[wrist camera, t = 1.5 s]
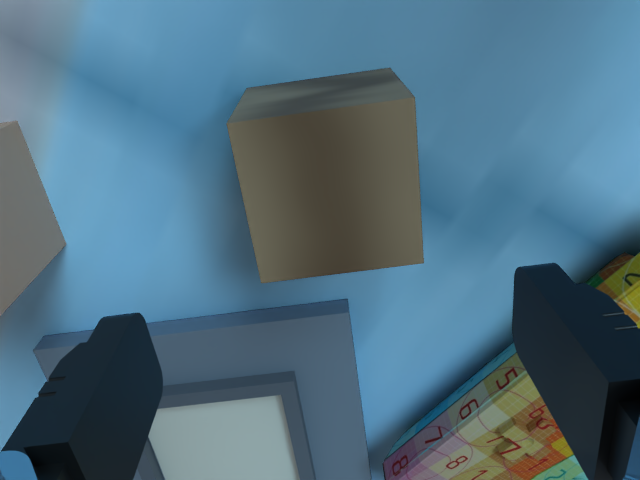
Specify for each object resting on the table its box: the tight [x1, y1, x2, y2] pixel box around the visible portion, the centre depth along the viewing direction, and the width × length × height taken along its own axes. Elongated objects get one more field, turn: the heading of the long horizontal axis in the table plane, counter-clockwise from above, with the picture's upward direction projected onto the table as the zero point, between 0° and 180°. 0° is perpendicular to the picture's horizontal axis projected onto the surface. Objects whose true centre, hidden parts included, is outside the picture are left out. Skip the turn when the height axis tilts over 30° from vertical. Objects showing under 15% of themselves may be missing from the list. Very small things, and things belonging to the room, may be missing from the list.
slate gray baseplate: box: [33, 299, 371, 480], centre depth 30 cm, size 16×16×2 cm
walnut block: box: [227, 68, 424, 283], centre depth 21 cm, size 6×6×6 cm
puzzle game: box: [382, 252, 640, 480], centre depth 27 cm, size 12×5×20 cm
